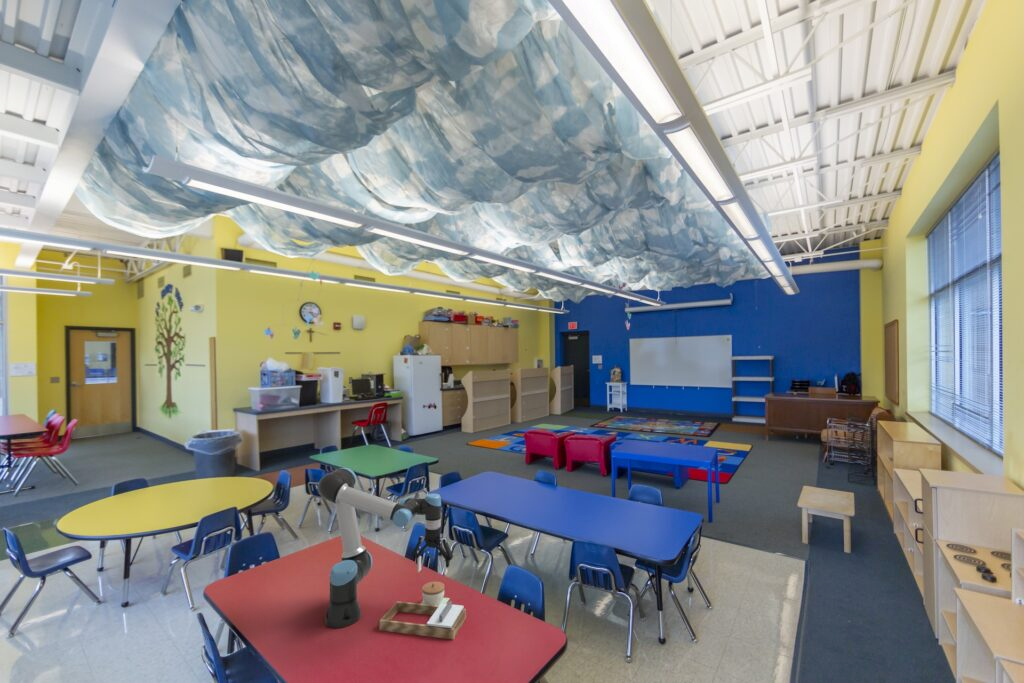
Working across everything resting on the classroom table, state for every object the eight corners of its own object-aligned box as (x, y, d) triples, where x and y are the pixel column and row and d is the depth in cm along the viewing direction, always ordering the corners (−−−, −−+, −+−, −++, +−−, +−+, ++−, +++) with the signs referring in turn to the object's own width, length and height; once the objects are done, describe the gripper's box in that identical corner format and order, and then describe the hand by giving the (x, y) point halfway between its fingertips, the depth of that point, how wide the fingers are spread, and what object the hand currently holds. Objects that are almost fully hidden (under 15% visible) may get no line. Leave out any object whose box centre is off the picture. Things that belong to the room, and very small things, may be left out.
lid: (426, 625, 184) (426, 617, 184) (440, 605, 199) (440, 597, 199) (451, 628, 181) (451, 619, 181) (463, 607, 197) (463, 599, 197)
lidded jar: (440, 610, 201) (440, 589, 202) (418, 608, 203) (418, 588, 204) (447, 598, 212) (447, 578, 213) (427, 596, 214) (426, 577, 214)
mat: (416, 610, 203) (416, 608, 203) (426, 596, 215) (426, 595, 215) (440, 612, 201) (440, 611, 201) (449, 599, 212) (449, 598, 212)
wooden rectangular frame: (379, 630, 188) (379, 620, 188) (397, 609, 204) (397, 601, 204) (453, 639, 181) (453, 629, 181) (465, 617, 196) (465, 608, 197)
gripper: (405, 528, 209) (404, 573, 208) (454, 532, 204) (454, 578, 202) (412, 522, 216) (411, 566, 215) (459, 526, 211) (459, 571, 210)
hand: (432, 572), depth 209 cm, fingers open, 13 cm apart
